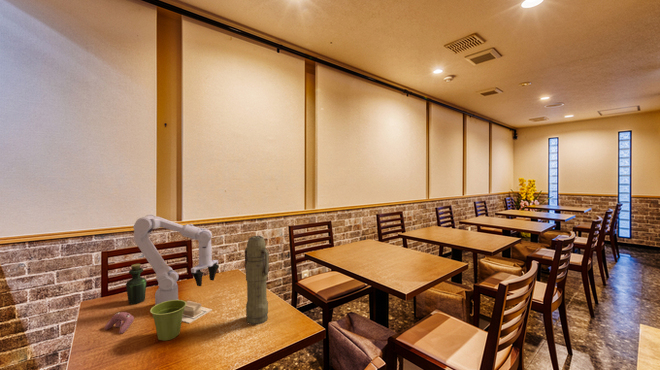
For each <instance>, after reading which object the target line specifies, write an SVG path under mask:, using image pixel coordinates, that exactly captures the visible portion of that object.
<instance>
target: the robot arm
mask: <svg viewBox="0 0 660 370" xmlns="http://www.w3.org/2000/svg"><path fill="white" fill-rule="evenodd" d="M132 228H133V240H134V241H133V242H134V243H135V244H136V246H137V247H138V249H139V250H140V251H141V253H142V255H143V256H144V258H145V259H146V261H147V262H148V263H149V266H151V268H152V270H153V271H154V272H155V278H156V281H157V282H158V288H157V289H156V291H155V294H154V299H155V300H154V302H155V304H154V306H155V305H157V304H159V303H162V302H165V301H170V300H179V285H178V283H177V281H179V279H180V278H179V273H178V272H177V271H176V270H173V268H172V267H171V266H169V265H168V264H167V262H166V261H165V260H164V258H163V257H162V255H161V254H160V251H158V249H157V248H156V246H155V244H154V243H153V242H152V240H151V239H150V236H151V234H152V231H153V230H156V229H159V228H160V229H161V228H162V229H163V228H164V229H167V230H171V231H174V232H179V233H180V234H181V236H182V237H186V238H189V239H191V240H195V241H196V240H197V241H198V264H196V265H195V266H194V267H191V268H190V271H191V273H190V274H191V275H192V276H193V278H194V280H195V283H196V286H197V287H202V284H203V275H204V271H202V270H205V269H207V270H208V274H209V275H208V278H209V280H210V281H215V278H216V277H215V276H216V273H217V271H218V269H219V268H220V267H219V259H213V255H212V254H213V252H212V251H213V247H212V237H213V236H212V235H213V234H212V231H211V230H209V229H208V228H203V227H202V226H201V227H198V226H195V225H194V224H193V223H189V224H188V223H187V224H184V225H183V224H180V223H177V222H175V221H172V220H169V219H166V218H163V217H161V216H159V215H158V216H155V215H153V214H147V215H145V216H142V217H139V218H138V219H136V221H135V223H134V224H133V226H132Z"/></svg>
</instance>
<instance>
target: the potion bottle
mask: <svg viewBox="0 0 660 370" xmlns="http://www.w3.org/2000/svg"><path fill="white" fill-rule="evenodd" d="M141 266H142V264H141V263H135V264H131V266H130V267H131V269H130V270H129V271H128V274H129V275H131V277H132V278H131V279H129V280H128V281H127V282H126V284H125V288H126V294H127V296H126V297H127V301H128V304H129V305H137V304H138V305H139V304H142V303H143V302H144V301H145V300H146V290H147V279H146V278H144V277H141V275H142V274H141V273H143V272H144V268H142V267H141Z"/></svg>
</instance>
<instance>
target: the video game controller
mask: <svg viewBox="0 0 660 370" xmlns="http://www.w3.org/2000/svg"><path fill="white" fill-rule="evenodd" d="M134 320H135V317H134V315H132V313H129V312H127V311H121V312H120V311H119V312H116V313H115V314H113V316H112V317H111V318H110V319H109V320H108V322H106V324H105V326H104V330H105V331H107V330H110V329H111V328H112V327H114V326H115V328H119V331H118V333H119V334H124V333H125V332H126V331H127V330H128V329H129V328H130V326H131V325H132V324H133V322H134Z"/></svg>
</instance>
